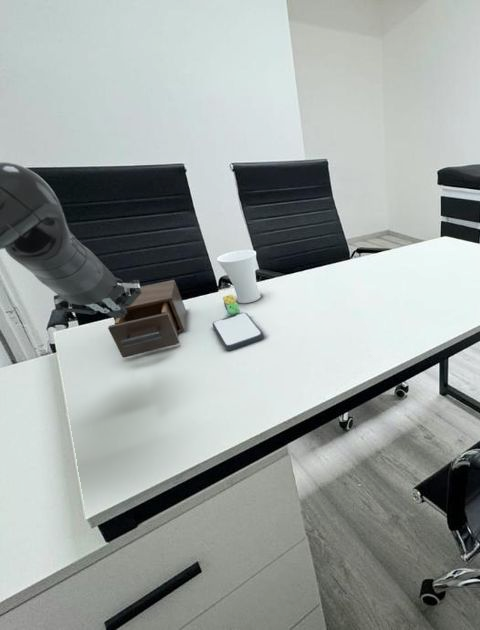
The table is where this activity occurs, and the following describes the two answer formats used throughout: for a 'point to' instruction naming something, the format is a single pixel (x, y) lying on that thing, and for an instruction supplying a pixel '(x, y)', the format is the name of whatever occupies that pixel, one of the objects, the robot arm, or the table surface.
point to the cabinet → (162, 300)
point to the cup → (241, 273)
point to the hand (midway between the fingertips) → (119, 313)
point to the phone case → (237, 331)
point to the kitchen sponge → (231, 305)
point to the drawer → (145, 329)
